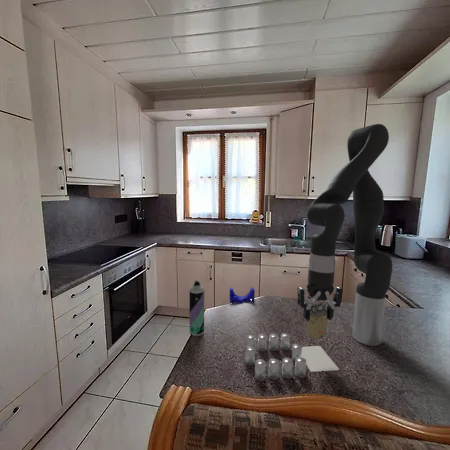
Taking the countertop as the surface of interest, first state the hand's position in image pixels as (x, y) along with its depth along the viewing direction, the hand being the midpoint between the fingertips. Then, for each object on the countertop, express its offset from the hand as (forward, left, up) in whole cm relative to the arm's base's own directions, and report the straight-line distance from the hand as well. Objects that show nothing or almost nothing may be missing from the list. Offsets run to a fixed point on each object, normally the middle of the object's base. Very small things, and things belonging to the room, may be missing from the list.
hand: (317, 319), depth 80 cm
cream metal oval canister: (0, 0, -6) cm, 6 cm away
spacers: (+14, 0, -13) cm, 19 cm away
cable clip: (+16, -46, -14) cm, 50 cm away
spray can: (+38, -19, -14) cm, 45 cm away
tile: (0, 0, -13) cm, 13 cm away
